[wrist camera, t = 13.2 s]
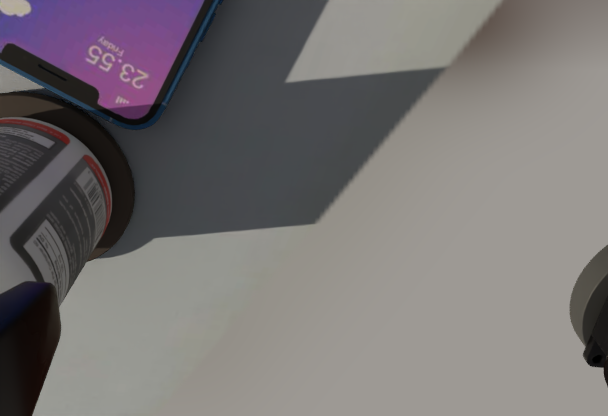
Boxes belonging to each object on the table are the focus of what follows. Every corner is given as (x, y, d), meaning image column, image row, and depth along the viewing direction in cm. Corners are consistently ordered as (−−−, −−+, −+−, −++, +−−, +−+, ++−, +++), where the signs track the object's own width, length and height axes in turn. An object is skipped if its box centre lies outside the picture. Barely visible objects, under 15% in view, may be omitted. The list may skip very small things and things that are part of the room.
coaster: (131, 101, 19) (128, 105, 19) (138, 268, 22) (135, 274, 22) (-77, 82, 19) (-84, 85, 18) (-40, 255, 22) (-45, 260, 22)
